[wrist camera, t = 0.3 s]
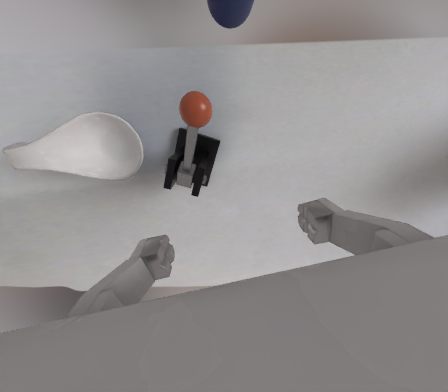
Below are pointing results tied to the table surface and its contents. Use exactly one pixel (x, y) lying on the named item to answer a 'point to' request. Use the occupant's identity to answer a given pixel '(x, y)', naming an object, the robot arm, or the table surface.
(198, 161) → the switch bracket
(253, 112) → the table surface
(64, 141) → the spoon rest
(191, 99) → the power lever
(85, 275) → the table surface
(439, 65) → the table surface
